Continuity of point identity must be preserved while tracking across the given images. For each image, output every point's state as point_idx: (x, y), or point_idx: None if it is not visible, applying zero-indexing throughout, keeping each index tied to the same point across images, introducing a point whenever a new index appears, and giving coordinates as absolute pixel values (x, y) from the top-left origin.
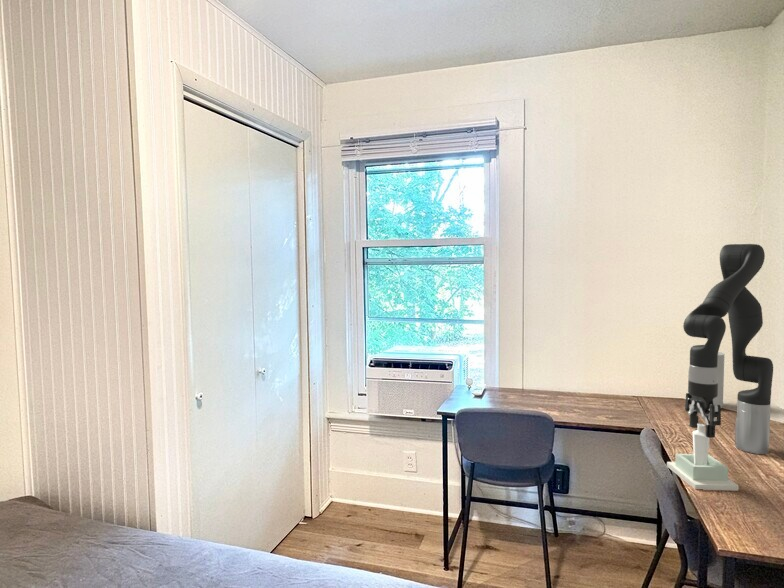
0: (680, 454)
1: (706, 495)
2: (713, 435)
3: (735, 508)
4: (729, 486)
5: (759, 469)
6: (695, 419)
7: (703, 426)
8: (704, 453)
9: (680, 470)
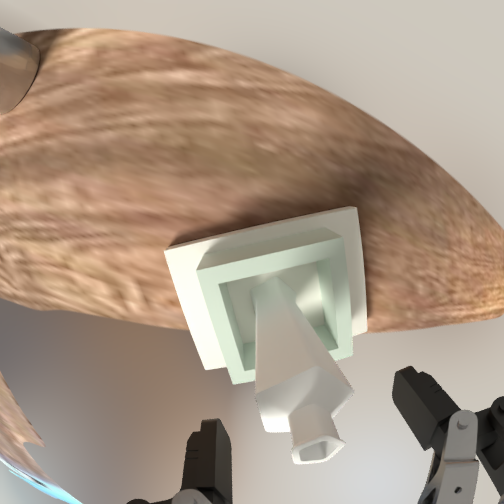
0: (237, 372)
1: (389, 304)
2: (426, 379)
3: (438, 257)
4: (359, 236)
5: (141, 72)
6: (223, 473)
7: (340, 439)
8: (317, 335)
9: None
